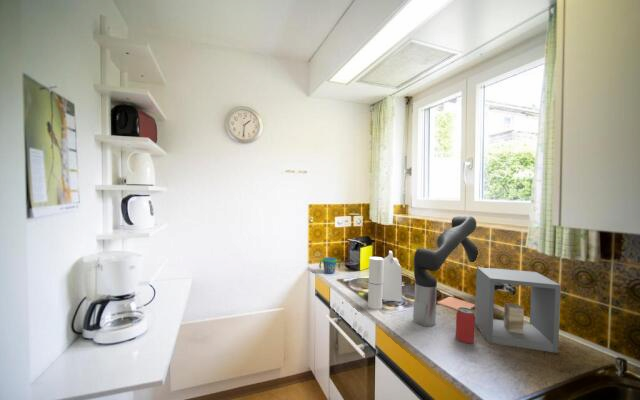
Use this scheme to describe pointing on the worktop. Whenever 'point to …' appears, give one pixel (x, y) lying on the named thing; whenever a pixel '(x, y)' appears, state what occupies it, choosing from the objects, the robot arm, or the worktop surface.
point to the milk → (392, 278)
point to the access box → (542, 309)
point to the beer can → (465, 325)
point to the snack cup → (329, 264)
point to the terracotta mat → (455, 303)
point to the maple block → (513, 317)
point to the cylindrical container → (375, 282)
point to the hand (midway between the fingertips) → (502, 291)
